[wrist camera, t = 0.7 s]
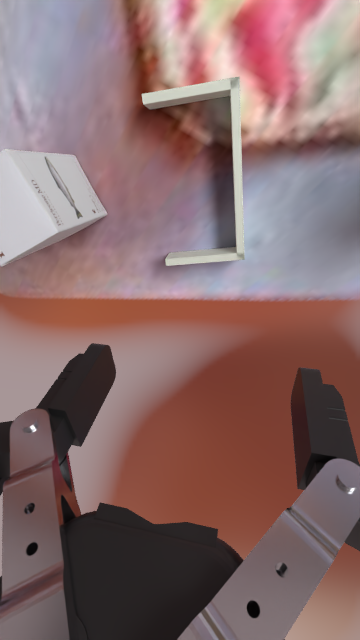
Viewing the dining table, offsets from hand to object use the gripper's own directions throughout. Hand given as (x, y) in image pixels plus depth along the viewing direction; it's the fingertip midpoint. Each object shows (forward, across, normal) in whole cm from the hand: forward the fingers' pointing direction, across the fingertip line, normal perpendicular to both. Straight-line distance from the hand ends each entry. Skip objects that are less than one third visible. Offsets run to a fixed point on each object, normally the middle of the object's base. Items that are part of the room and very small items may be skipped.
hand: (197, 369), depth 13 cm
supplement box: (+26, +20, 0) cm, 32 cm away
